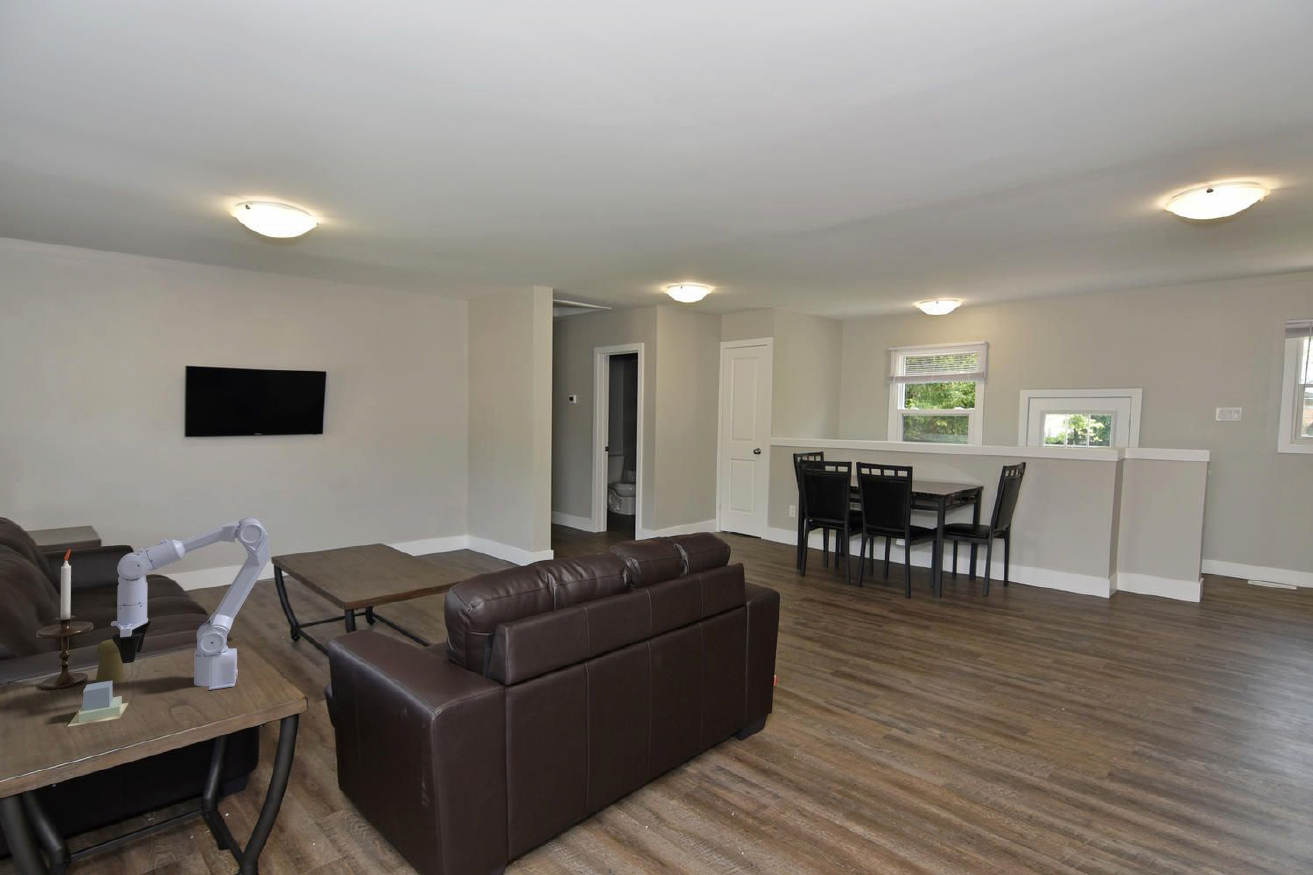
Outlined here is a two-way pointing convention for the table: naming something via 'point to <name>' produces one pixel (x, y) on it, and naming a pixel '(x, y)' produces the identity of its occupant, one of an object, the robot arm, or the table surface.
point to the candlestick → (65, 636)
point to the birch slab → (76, 719)
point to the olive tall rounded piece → (109, 663)
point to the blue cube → (97, 695)
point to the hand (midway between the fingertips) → (131, 657)
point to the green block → (101, 711)
